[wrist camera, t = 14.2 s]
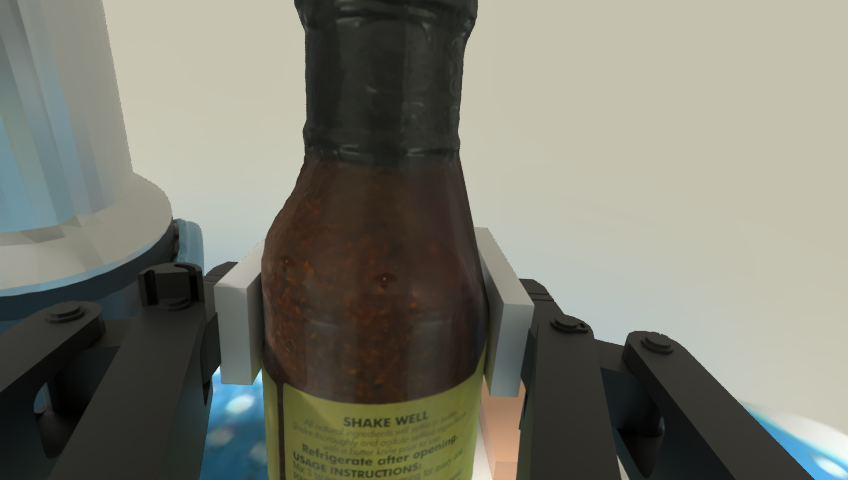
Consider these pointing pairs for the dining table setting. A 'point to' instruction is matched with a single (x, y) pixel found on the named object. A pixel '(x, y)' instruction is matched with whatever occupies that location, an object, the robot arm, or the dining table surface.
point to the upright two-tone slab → (501, 431)
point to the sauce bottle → (376, 256)
